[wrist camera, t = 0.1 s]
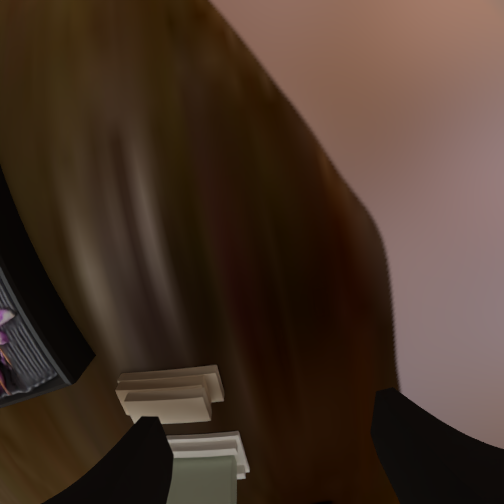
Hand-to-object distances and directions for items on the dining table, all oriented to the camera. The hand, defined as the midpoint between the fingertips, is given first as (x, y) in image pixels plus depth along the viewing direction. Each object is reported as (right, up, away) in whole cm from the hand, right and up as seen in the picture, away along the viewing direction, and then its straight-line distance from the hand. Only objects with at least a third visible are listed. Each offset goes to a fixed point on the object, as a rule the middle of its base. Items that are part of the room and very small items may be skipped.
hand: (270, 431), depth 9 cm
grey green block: (-5, -11, +13) cm, 17 cm away
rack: (-5, -11, +13) cm, 18 cm away
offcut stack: (-6, -3, +12) cm, 13 cm away
